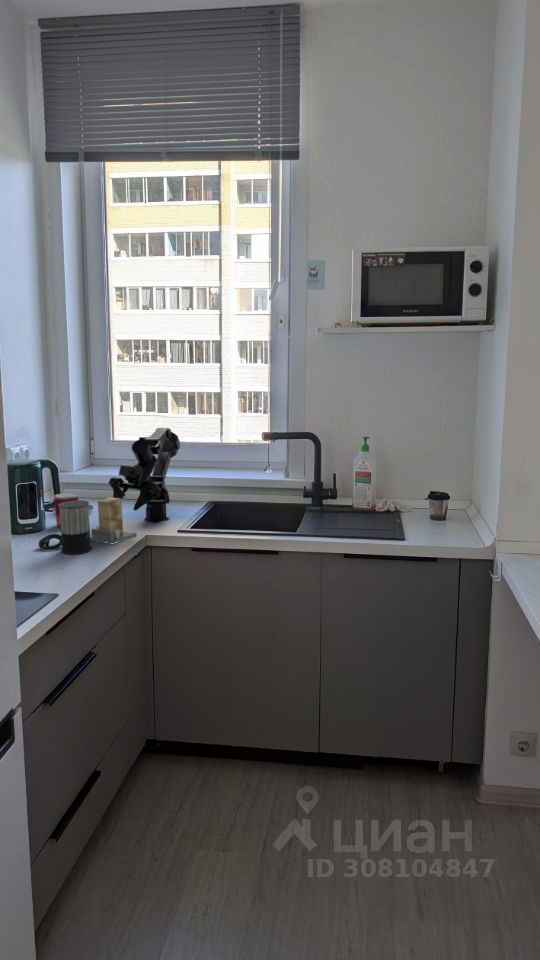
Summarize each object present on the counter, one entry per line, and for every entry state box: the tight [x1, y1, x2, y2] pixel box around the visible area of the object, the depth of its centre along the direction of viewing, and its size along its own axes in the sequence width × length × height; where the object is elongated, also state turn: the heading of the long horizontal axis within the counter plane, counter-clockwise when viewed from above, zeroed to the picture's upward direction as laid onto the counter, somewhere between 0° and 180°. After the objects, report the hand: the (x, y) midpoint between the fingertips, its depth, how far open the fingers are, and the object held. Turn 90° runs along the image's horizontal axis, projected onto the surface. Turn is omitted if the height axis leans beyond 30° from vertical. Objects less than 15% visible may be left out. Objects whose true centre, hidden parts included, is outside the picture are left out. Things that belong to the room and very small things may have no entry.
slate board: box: [90, 526, 137, 543], centre depth 241 cm, size 12×9×4 cm
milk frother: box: [38, 499, 93, 555], centre depth 228 cm, size 14×16×15 cm
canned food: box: [54, 492, 79, 529], centre depth 258 cm, size 8×8×11 cm
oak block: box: [97, 496, 124, 538], centre depth 239 cm, size 6×4×12 cm
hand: (123, 508), depth 245 cm, fingers open, 9 cm apart
